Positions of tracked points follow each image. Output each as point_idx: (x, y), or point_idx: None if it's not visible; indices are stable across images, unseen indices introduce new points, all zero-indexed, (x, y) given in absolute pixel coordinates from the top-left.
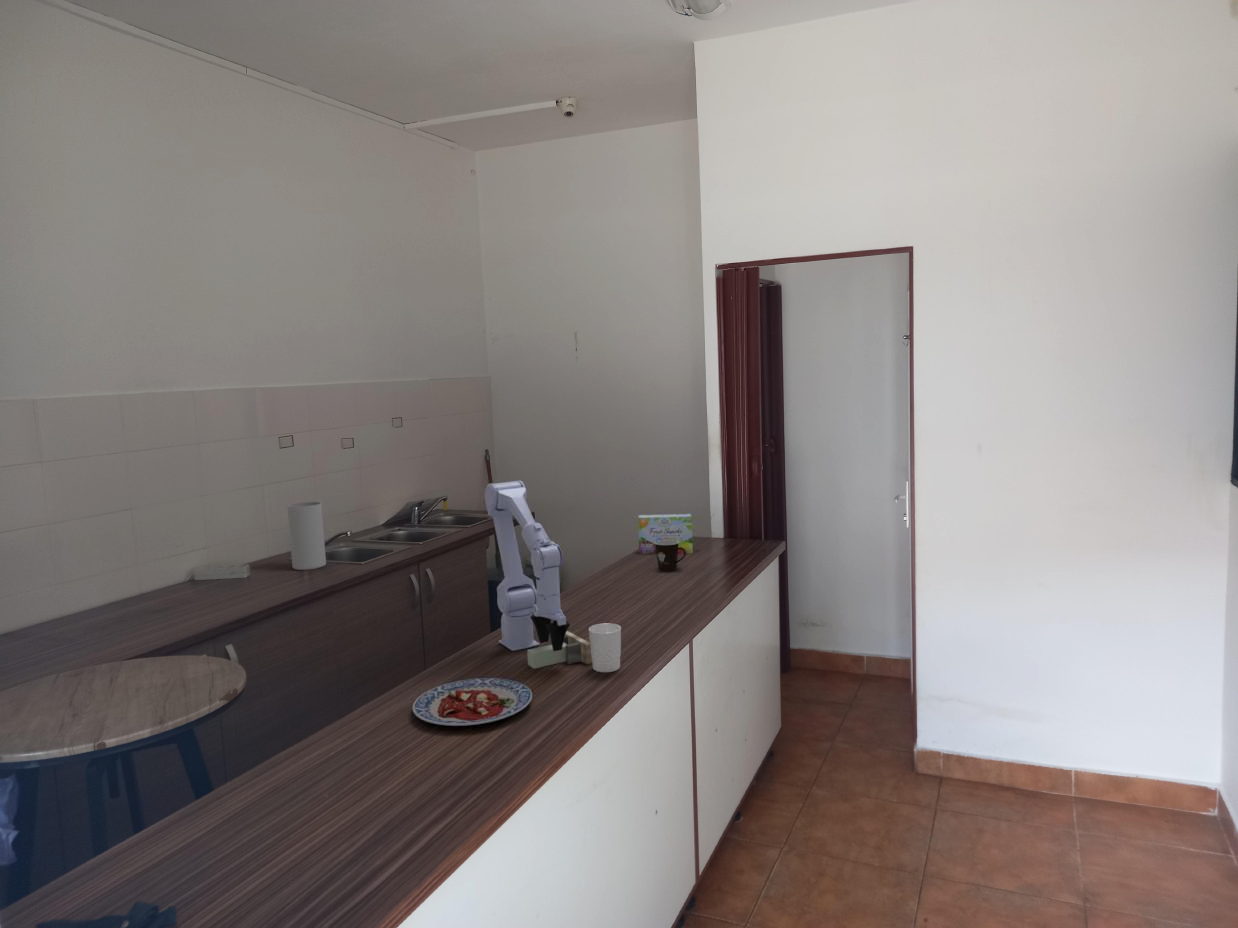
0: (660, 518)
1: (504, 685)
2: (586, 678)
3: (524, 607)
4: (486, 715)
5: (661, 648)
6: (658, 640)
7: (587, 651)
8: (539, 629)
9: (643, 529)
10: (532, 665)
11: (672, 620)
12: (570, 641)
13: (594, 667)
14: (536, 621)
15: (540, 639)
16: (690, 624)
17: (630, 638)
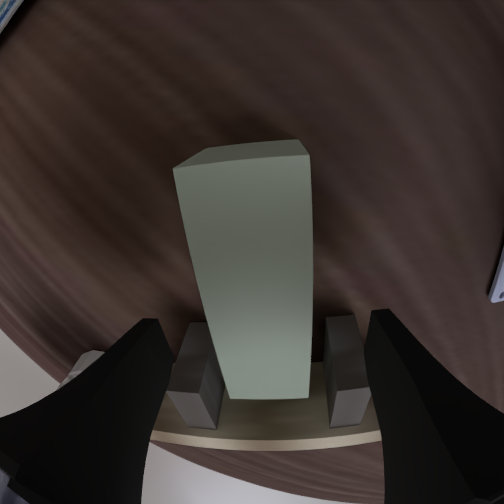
0: None
1: (3, 1)
2: (42, 300)
3: None
4: None
5: (215, 467)
6: (265, 476)
7: None
8: (411, 397)
9: None
10: (222, 147)
11: (348, 489)
12: (301, 415)
13: (95, 357)
14: (444, 471)
15: (378, 327)
16: (309, 495)
17: (316, 463)
